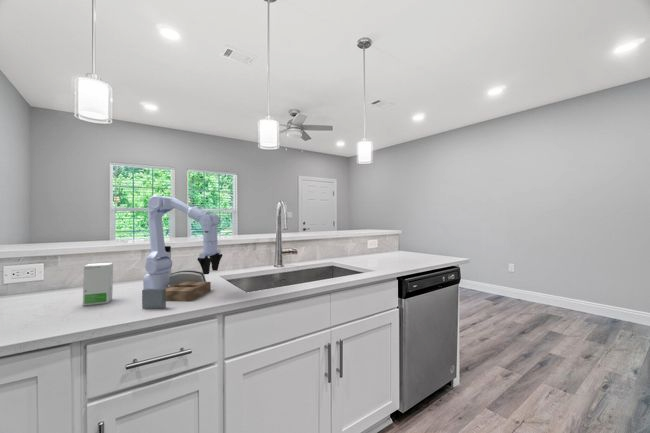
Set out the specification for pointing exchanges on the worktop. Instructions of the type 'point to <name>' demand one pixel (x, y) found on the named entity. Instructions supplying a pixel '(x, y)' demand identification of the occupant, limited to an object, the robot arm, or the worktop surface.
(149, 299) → the grey flat-faced block
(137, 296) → the worktop surface
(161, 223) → the robot arm
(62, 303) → the worktop surface
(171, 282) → the grey arched slab
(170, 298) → the slotted tan panel
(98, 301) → the skincare box
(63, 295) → the worktop surface
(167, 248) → the travel mug
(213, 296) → the worktop surface
